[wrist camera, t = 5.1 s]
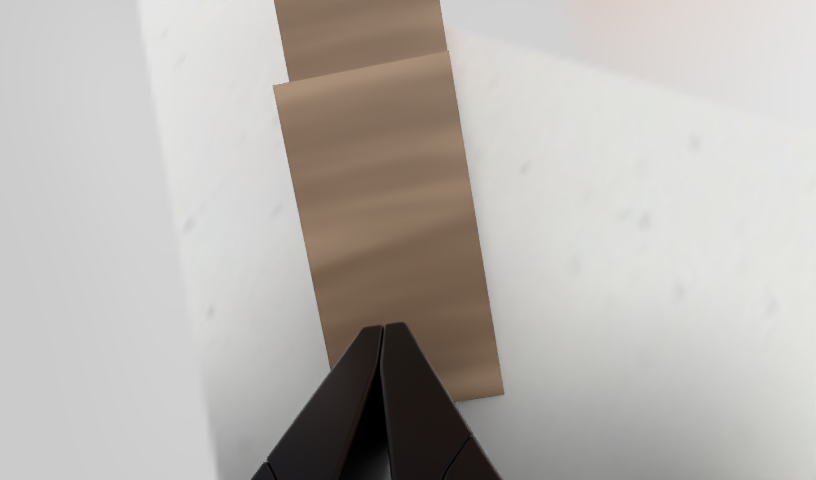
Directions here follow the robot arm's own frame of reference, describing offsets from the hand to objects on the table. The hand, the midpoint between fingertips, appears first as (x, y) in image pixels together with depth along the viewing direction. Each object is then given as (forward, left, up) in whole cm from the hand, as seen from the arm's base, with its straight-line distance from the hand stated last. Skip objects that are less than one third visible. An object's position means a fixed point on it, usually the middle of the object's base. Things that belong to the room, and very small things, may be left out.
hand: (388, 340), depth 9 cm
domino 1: (-1, -1, -6) cm, 6 cm away
